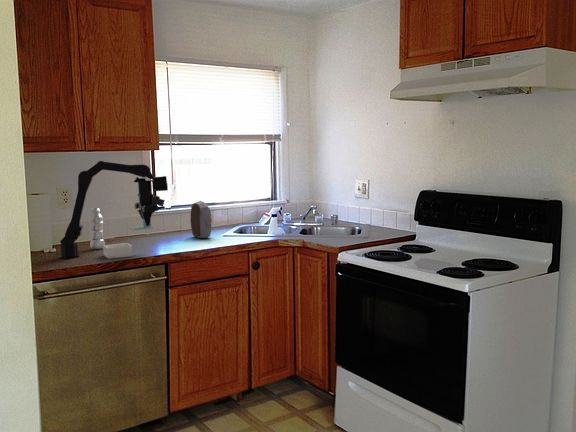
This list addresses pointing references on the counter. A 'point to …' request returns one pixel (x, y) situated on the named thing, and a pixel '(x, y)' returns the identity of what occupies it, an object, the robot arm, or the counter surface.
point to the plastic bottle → (96, 229)
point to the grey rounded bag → (200, 220)
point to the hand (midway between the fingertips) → (147, 225)
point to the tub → (117, 250)
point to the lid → (142, 226)
